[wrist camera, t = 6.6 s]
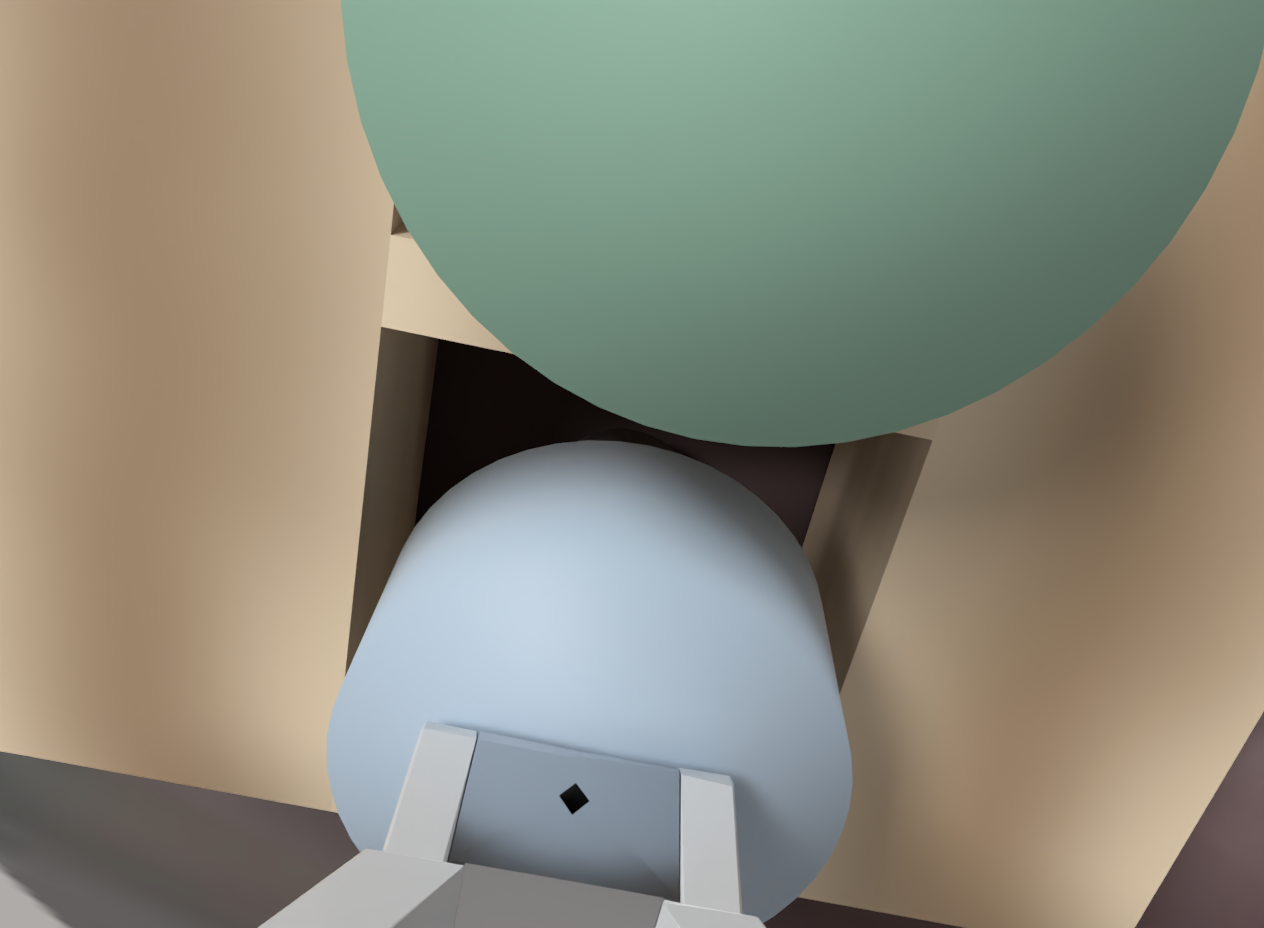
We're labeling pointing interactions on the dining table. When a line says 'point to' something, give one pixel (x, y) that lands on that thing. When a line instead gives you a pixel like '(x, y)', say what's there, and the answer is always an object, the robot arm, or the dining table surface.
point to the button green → (795, 188)
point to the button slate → (609, 644)
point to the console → (428, 311)
